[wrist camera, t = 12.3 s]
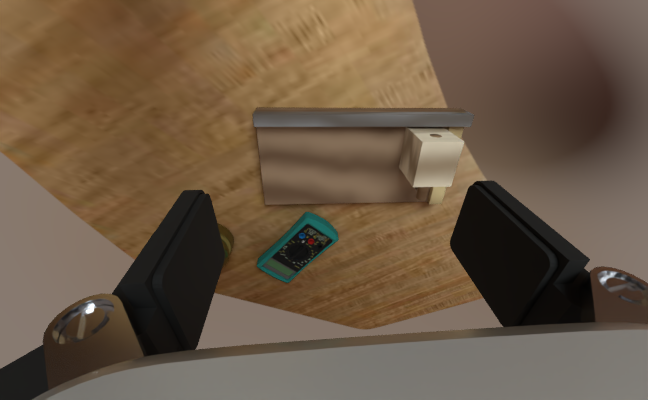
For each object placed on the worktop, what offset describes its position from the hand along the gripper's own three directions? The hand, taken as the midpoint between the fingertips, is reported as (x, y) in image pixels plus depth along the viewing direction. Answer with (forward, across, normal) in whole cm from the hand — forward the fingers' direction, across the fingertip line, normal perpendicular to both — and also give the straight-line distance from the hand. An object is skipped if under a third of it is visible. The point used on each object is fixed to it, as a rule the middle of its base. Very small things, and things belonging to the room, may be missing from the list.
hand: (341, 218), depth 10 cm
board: (+29, -6, +11) cm, 32 cm away
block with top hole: (+27, -15, +10) cm, 33 cm away
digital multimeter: (+30, +3, +28) cm, 41 cm away
